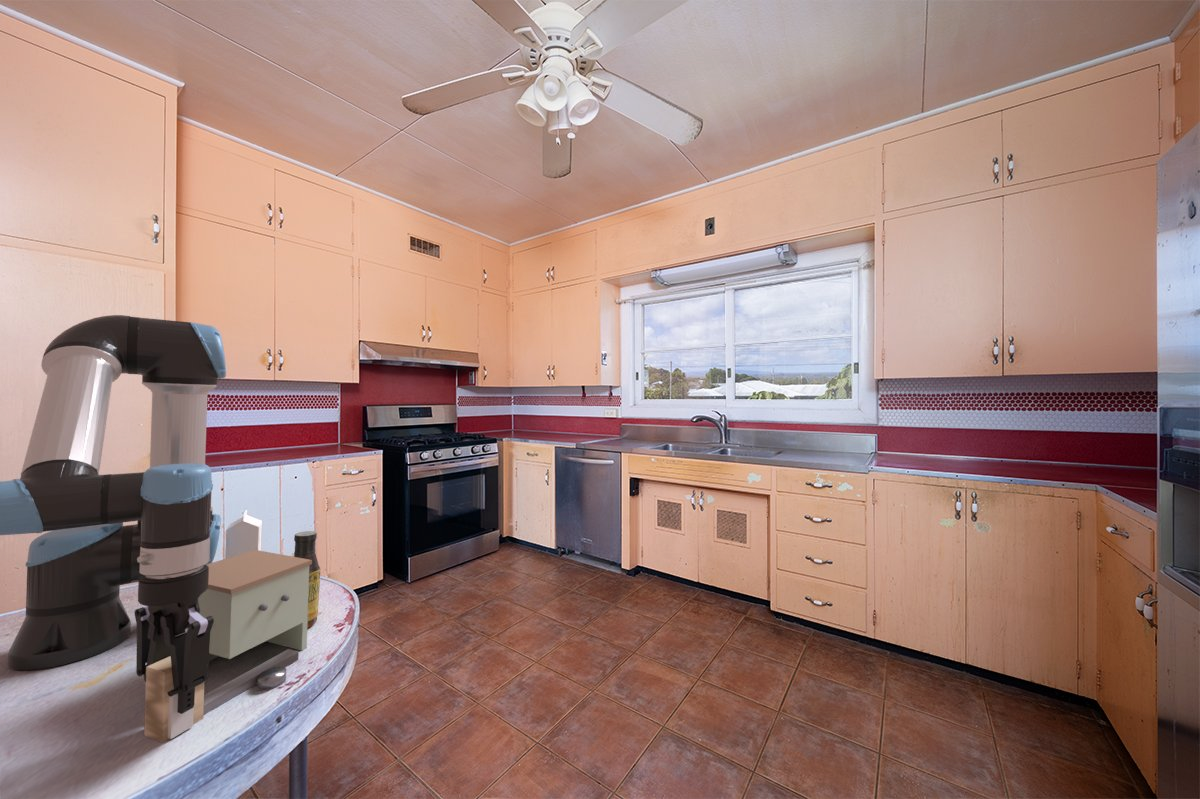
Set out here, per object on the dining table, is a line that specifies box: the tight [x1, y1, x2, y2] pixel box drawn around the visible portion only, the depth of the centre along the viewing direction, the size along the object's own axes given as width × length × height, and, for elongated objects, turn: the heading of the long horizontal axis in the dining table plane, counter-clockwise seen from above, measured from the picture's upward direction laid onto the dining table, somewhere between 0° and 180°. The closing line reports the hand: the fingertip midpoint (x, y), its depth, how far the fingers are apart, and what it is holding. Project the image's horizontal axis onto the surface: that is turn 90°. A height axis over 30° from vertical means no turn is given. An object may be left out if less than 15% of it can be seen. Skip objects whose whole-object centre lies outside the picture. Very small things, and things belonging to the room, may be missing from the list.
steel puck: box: [256, 666, 287, 691], centre depth 76 cm, size 4×4×2 cm
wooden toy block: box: [143, 648, 299, 743], centre depth 73 cm, size 4×21×10 cm, turn 163°
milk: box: [224, 509, 263, 559], centre depth 104 cm, size 6×6×22 cm
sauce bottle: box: [293, 530, 321, 629], centre depth 95 cm, size 7×6×20 cm
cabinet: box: [177, 550, 312, 662], centre depth 83 cm, size 16×15×17 cm
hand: (169, 727), depth 65 cm, fingers closed on wooden toy block, 4 cm apart
